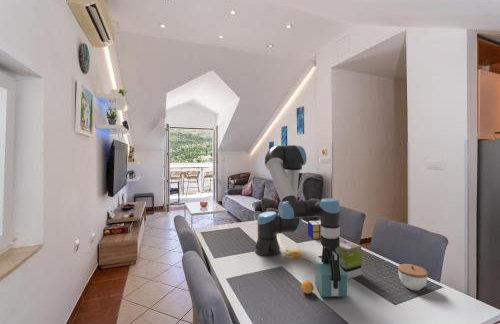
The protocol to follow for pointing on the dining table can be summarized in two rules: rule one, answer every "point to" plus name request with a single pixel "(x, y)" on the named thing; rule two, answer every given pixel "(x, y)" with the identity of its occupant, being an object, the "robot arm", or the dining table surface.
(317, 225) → the puzzle cube
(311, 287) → the ball
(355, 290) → the dining table surface
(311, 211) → the robot arm
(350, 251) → the tea box
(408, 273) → the lidded jar
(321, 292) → the teal cube
